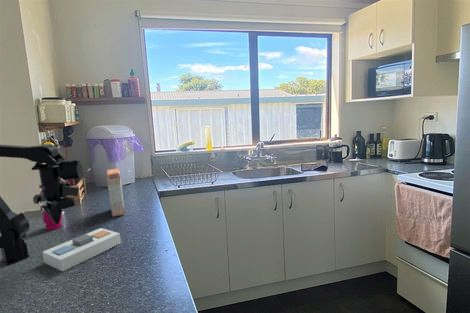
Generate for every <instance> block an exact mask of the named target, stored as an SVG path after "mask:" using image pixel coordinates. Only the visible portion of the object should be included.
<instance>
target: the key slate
mask: <svg viewBox="0 0 470 313" xmlns="http://www.w3.org/2000/svg"><path fill="white" fill-rule="evenodd" d="M71 250H74V248H72V247H69V246H67V245H66V246H64V247H61V248H59V249H56V250H54V251H52V253H53V254H56V255H58V256H60V255H62V254H65V253H67V252H69V251H71Z"/></svg>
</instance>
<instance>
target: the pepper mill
mask: <svg viewBox="0 0 470 313" xmlns="http://www.w3.org/2000/svg"><path fill="white" fill-rule="evenodd" d="M39 192H40V193H39V194H41V193H42V189H41V190H40V191H39ZM62 216H63V215H62V214H61V217H60V222H59V224H55V223H54V222H53V221H52V219H51V218H50V217H49V215H48V214H47V213H46V212H45V211H44V212H43V216H42V221H43V223H44V224H46V225H45V230H46V231H54V230H57V229H61V228H62V226H63V222H62V219H63V217H62Z"/></svg>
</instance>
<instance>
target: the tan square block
mask: <svg viewBox="0 0 470 313" xmlns="http://www.w3.org/2000/svg"><path fill="white" fill-rule="evenodd" d="M108 234H110V232H107V231H103V230H102V231H100V232H98V233H95V234H93V235H91V236H92V237H95V238H98V239H99V238H101V237H104V236H106V235H108Z"/></svg>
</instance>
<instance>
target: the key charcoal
mask: <svg viewBox="0 0 470 313" xmlns="http://www.w3.org/2000/svg"><path fill="white" fill-rule="evenodd" d="M86 234H87V233H85V234H82V235H79V236H77V237H75V238H72V239H71V240H72V242H73V244H74V245H76V246H79V247H81V246H83V245H85V244H88V243H90V242H92V241H93V237H92V236H89V235H86Z"/></svg>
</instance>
